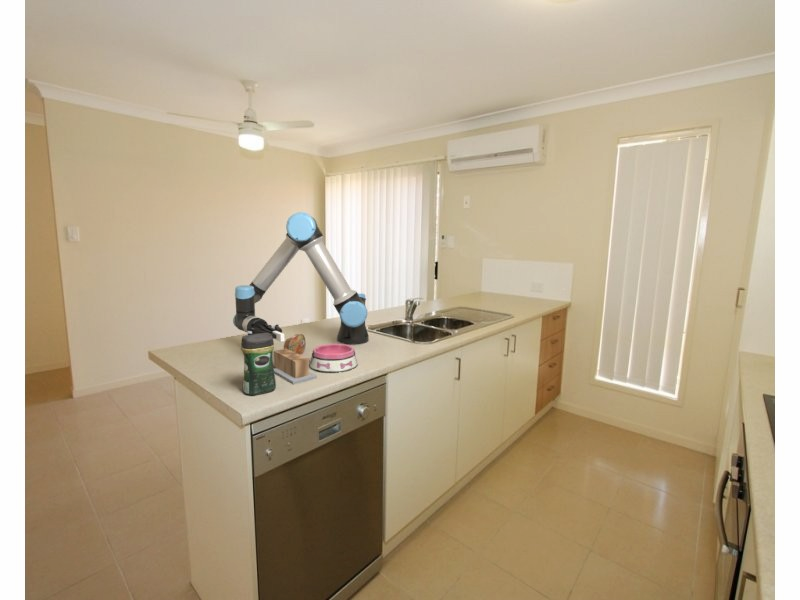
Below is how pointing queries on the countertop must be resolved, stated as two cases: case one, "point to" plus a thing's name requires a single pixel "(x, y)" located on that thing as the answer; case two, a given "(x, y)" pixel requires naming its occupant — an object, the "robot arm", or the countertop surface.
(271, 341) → the coffee jar
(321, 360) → the dog bowl
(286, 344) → the tin
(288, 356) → the walnut block
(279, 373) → the mat
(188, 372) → the countertop surface
